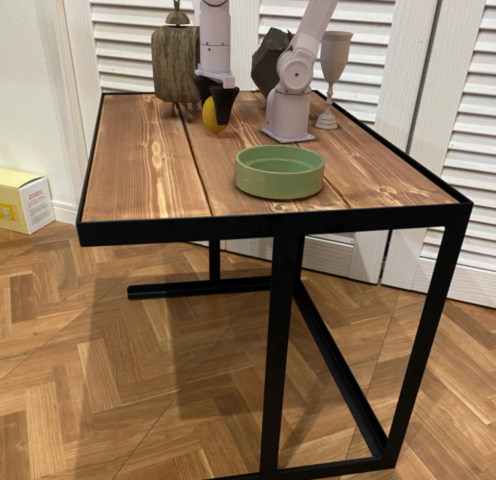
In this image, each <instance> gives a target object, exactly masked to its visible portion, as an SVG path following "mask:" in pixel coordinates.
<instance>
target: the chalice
mask: <svg viewBox="0 0 496 480" xmlns="http://www.w3.org/2000/svg"><path fill="white" fill-rule="evenodd" d="M354 35H355V34H354V33H353V32H350V31H344V30H326V31H325V33H324V35H323V37H322V40H321V42H320V53H319V54H320V55H319V62H320V67H321V72H322V76H323V79H324V82H326V83H328V88H327V91H326V97H327V98H326V100H325V101H324V103H325V111H324V112H323V113H320V114H319V116H318V118H317V119H316V122H315V124H314V127H316V128H319V129H324V130H335V129H337V128H338V124H337V120H336V116H335V115H334V114H333V113H332V112H331V106H332V105H333V103H334V102H333V101H332V97H333V95H334V91H333V89H334V85H335V84H336V83H338V82H339V80H340V78H341V77H342V75H343V73H344V71H345V68H346V66H347V64H348V61H349V55H350V49H351V47H350V46H351V41H352V38H353V36H354Z"/></svg>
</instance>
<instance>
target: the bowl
mask: <svg viewBox="0 0 496 480" xmlns="http://www.w3.org/2000/svg"><path fill="white" fill-rule="evenodd" d="M325 169H326V158H325V157H324V156H323V155H322V154H320V153H318V152H317V151H316V150H315V151H314V150H312V149H308V148H306V147H301V146H295V145H287V144H262V145H261V144H260V145H253V146H250V147H249V146H248V147H245V148H243V149H241V150H239V151H238V152H237V153H236V154H235V156H234V183H235V186H236V187H237V188H238V189H239V190H241V191H242V192H245V193H247V194H250V195H252V196H255V197H260V198H265V199H271V200H295V199H301V198H307V197H309V196H310V197H311V196H312V195H315V194H317V193H319V192H320V191H321V190H322V189H323V184H324V177H325Z"/></svg>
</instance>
